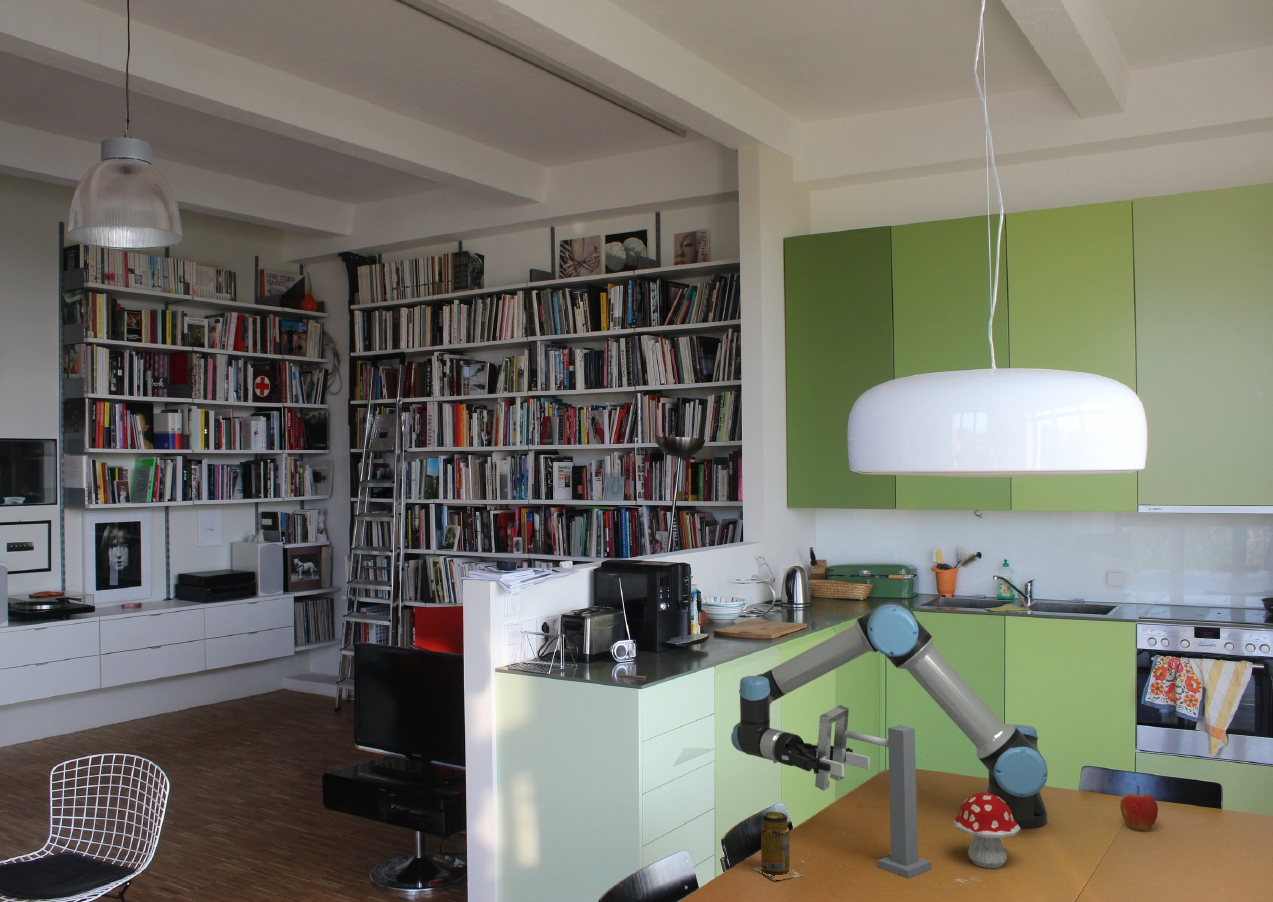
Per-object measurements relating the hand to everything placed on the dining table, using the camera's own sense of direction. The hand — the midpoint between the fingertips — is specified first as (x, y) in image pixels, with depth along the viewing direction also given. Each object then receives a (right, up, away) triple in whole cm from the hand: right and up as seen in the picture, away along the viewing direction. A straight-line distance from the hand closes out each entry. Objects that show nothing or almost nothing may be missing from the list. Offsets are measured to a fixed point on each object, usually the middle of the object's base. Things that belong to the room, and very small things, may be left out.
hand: (856, 766), depth 224 cm
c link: (-5, -6, +7) cm, 10 cm away
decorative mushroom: (+27, -19, -8) cm, 34 cm away
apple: (+71, -19, +13) cm, 75 cm away
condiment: (-20, -19, -12) cm, 30 cm away
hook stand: (+5, -19, -6) cm, 20 cm away
